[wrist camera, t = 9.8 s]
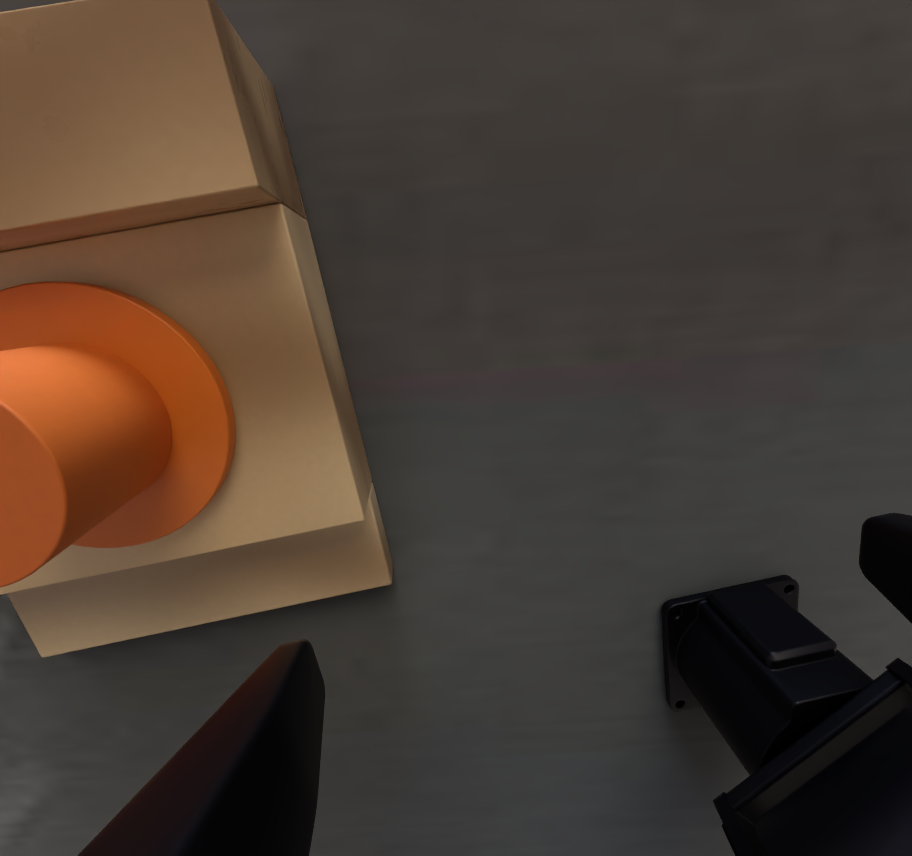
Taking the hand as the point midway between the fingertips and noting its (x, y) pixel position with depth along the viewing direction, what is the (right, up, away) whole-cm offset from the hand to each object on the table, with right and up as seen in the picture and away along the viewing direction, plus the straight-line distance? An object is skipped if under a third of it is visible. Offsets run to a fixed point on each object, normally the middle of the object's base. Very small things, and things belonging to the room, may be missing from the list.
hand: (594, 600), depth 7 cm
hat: (-13, +3, +7) cm, 15 cm away
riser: (-13, +4, +10) cm, 17 cm away
